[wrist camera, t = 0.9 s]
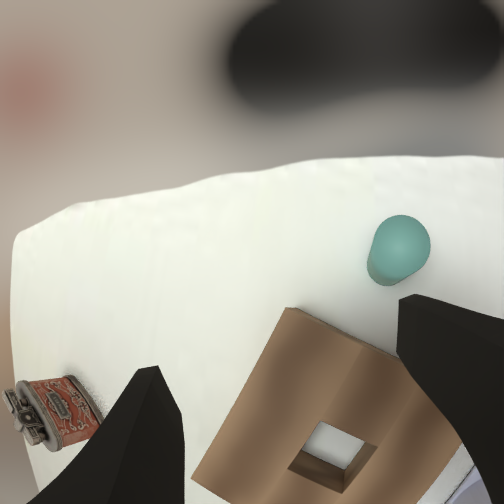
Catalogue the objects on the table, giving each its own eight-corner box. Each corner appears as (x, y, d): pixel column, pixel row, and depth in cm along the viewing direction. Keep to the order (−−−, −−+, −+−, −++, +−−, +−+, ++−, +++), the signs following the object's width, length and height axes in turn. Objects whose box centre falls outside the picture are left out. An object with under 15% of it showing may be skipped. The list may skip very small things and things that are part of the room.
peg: (413, 254, 23) (438, 229, 15) (396, 292, 23) (417, 284, 15) (376, 237, 24) (386, 205, 16) (360, 275, 24) (364, 259, 16)
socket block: (468, 390, 19) (485, 403, 16) (361, 533, 19) (360, 559, 15) (296, 307, 25) (285, 307, 21) (210, 460, 24) (190, 478, 21)
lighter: (112, 426, 28) (41, 449, 19) (99, 440, 28) (31, 463, 19) (72, 368, 31) (1, 375, 21) (61, 385, 31) (-6, 393, 22)
